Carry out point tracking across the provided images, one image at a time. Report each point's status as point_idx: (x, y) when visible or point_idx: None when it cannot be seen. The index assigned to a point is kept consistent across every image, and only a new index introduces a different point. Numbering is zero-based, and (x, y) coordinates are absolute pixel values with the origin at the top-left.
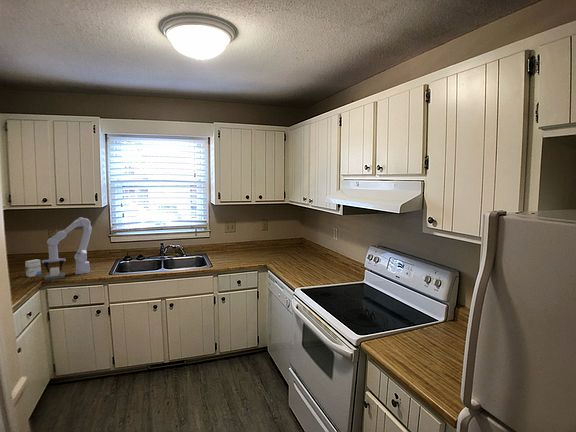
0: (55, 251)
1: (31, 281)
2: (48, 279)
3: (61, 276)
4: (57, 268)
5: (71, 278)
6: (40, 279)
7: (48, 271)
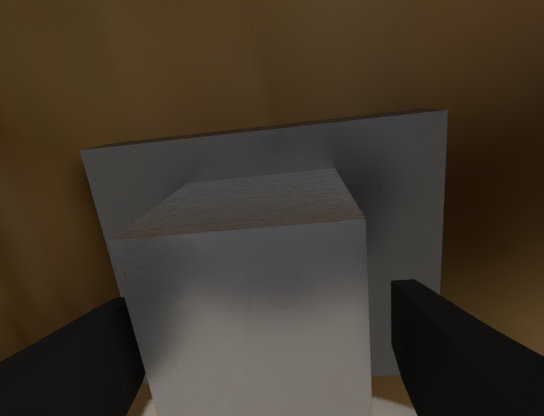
0: None
1: (3, 334)
2: None
3: (395, 366)
4: (345, 397)
5: None
6: (81, 275)
7: (137, 373)
